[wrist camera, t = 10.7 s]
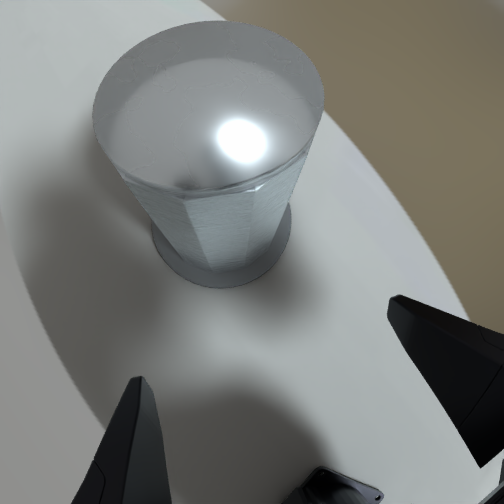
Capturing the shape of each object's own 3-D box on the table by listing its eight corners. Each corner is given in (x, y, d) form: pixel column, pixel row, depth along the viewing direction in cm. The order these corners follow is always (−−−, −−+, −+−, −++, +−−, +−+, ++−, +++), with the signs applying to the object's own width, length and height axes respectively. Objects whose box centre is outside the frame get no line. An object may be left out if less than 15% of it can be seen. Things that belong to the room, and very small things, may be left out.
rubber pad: (315, 205, 21) (316, 202, 20) (236, 317, 19) (236, 316, 18) (209, 138, 22) (209, 134, 21) (127, 234, 20) (125, 232, 19)
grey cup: (298, 226, 20) (370, 106, 8) (210, 295, 19) (169, 245, 7) (231, 150, 21) (230, 3, 9) (146, 209, 20) (65, 88, 8)
